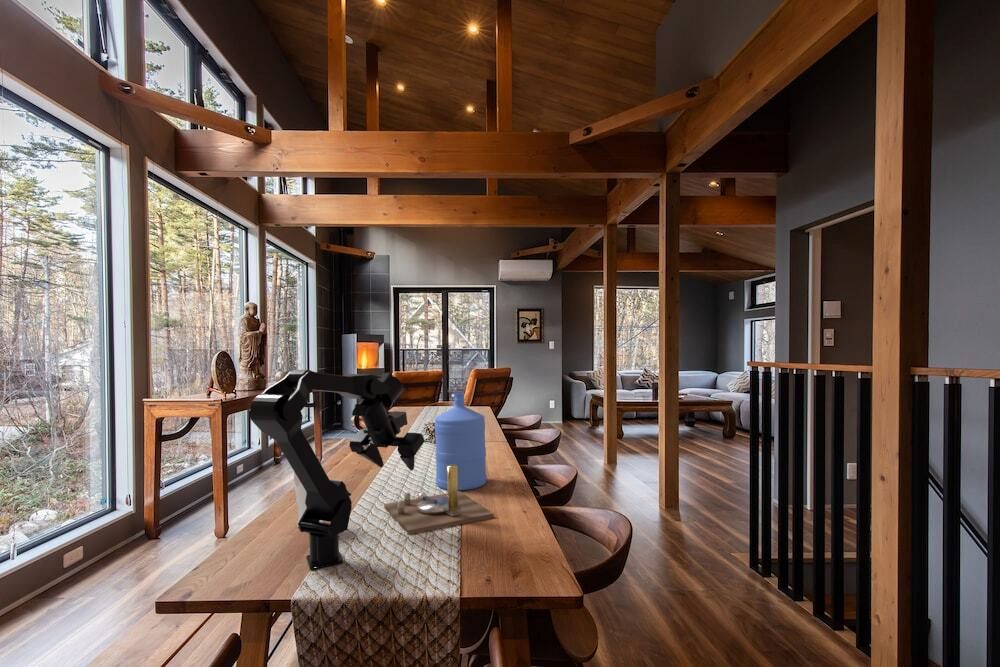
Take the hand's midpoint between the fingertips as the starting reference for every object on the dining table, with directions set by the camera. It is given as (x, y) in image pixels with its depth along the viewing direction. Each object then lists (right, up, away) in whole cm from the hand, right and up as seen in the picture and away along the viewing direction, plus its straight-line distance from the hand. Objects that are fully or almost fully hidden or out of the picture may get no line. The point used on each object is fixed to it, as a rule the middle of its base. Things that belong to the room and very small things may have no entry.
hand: (397, 467), depth 131 cm
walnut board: (+10, -13, +4) cm, 16 cm away
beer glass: (-21, -14, -2) cm, 25 cm away
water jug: (+14, -13, +30) cm, 36 cm away
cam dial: (+10, -11, +4) cm, 15 cm away
